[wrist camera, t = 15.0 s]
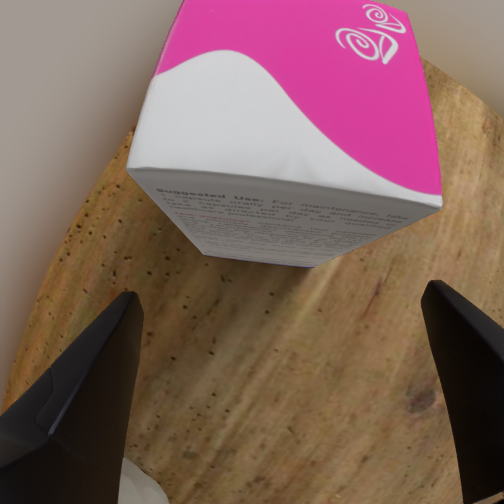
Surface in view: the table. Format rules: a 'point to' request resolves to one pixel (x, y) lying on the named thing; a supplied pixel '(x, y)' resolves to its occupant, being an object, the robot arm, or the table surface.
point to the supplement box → (288, 129)
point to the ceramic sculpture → (138, 486)
